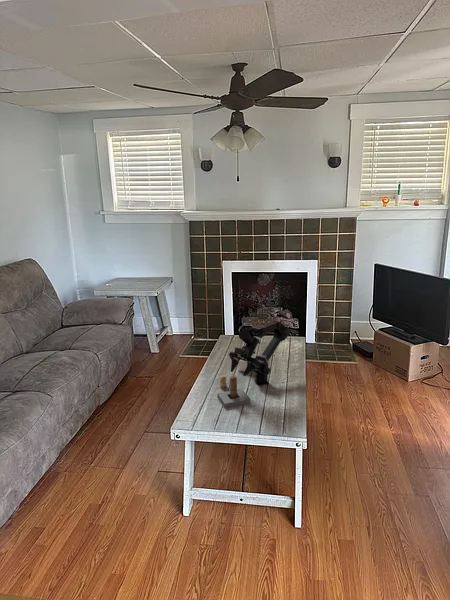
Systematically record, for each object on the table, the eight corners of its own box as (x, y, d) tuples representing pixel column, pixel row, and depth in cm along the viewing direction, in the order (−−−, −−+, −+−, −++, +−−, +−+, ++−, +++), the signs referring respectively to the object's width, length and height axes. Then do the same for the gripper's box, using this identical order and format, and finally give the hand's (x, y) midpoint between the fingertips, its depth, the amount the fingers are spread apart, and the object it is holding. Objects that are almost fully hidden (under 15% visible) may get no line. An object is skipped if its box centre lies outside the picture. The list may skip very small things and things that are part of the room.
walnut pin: (233, 397, 224) (233, 375, 221) (238, 400, 221) (238, 377, 218) (228, 400, 222) (228, 377, 218) (233, 402, 219) (233, 379, 216)
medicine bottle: (252, 367, 261) (252, 349, 258) (249, 372, 255) (249, 353, 251) (241, 366, 263) (240, 348, 260) (238, 370, 256) (238, 352, 253)
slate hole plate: (242, 392, 229) (241, 388, 229) (250, 403, 218) (250, 398, 218) (217, 397, 225) (217, 393, 224) (224, 408, 214) (224, 403, 213)
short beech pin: (225, 384, 239) (225, 374, 238) (227, 387, 236) (227, 377, 234) (219, 385, 238) (218, 375, 237) (221, 388, 235) (221, 378, 233)
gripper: (229, 337, 228) (216, 363, 224) (255, 344, 215) (242, 371, 211) (240, 346, 236) (228, 371, 231) (266, 353, 222) (253, 380, 218)
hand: (237, 373), depth 223 cm, fingers open, 9 cm apart
